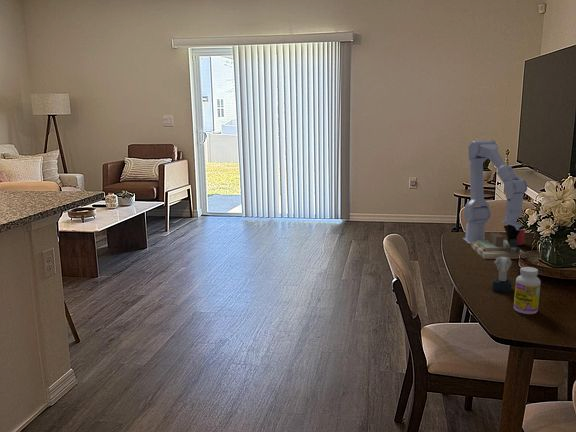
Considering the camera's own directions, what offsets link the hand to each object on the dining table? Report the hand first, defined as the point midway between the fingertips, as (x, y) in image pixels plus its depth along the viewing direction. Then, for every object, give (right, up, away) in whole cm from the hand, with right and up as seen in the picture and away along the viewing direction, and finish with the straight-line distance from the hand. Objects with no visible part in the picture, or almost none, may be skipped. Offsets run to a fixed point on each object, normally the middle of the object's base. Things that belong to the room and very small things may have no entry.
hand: (511, 243), depth 214 cm
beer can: (+9, -1, +19) cm, 21 cm away
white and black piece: (-18, -13, -36) cm, 42 cm away
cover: (-3, -1, +8) cm, 9 cm away
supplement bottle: (-18, -17, -54) cm, 59 cm away
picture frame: (-3, -4, +6) cm, 8 cm away
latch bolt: (0, -2, 0) cm, 2 cm away
